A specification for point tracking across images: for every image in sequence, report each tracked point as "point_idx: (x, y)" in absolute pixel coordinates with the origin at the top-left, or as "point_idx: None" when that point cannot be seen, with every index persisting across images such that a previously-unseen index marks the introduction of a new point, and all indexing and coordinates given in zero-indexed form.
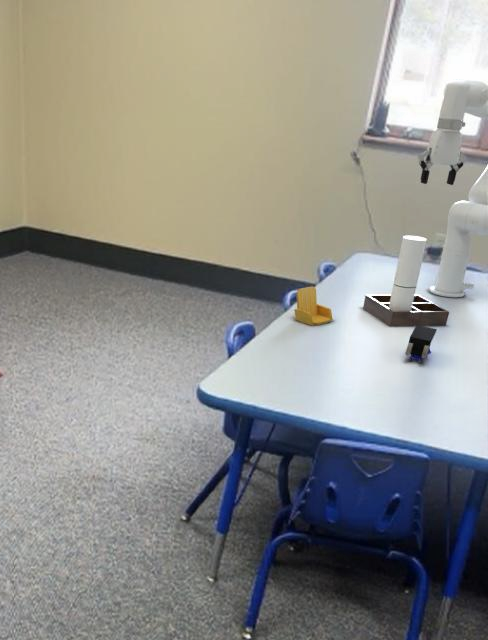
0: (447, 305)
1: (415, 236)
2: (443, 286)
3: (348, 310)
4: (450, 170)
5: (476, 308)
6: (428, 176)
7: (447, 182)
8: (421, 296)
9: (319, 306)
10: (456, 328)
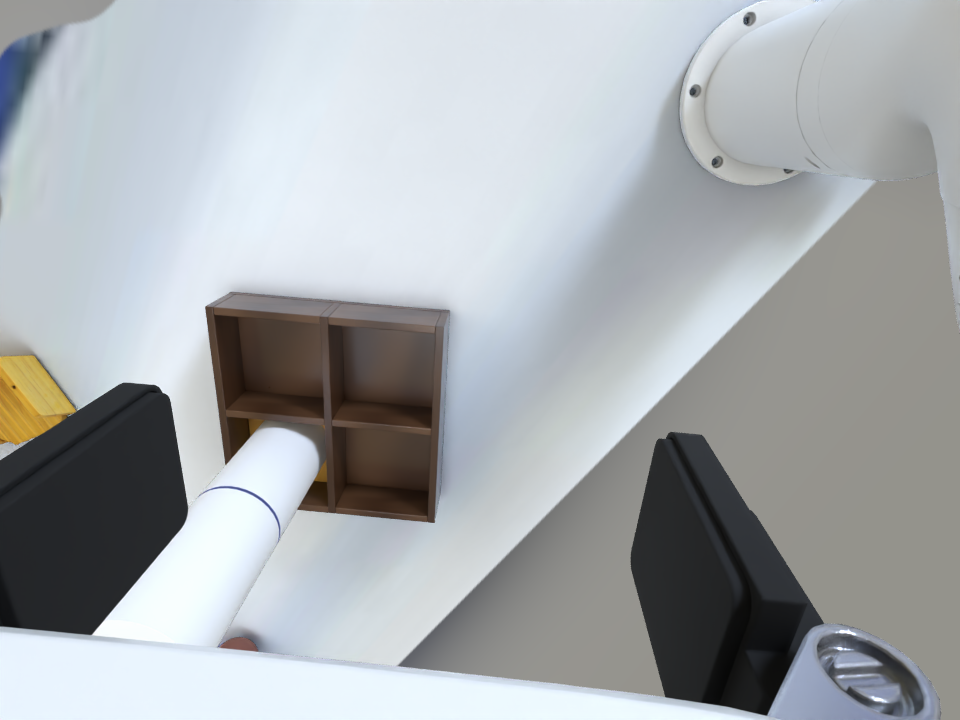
0: (614, 287)
1: (153, 637)
2: (718, 134)
3: (166, 310)
4: (780, 607)
5: (711, 337)
6: (116, 602)
7: (657, 463)
8: (439, 352)
9: (8, 381)
10: (461, 516)
